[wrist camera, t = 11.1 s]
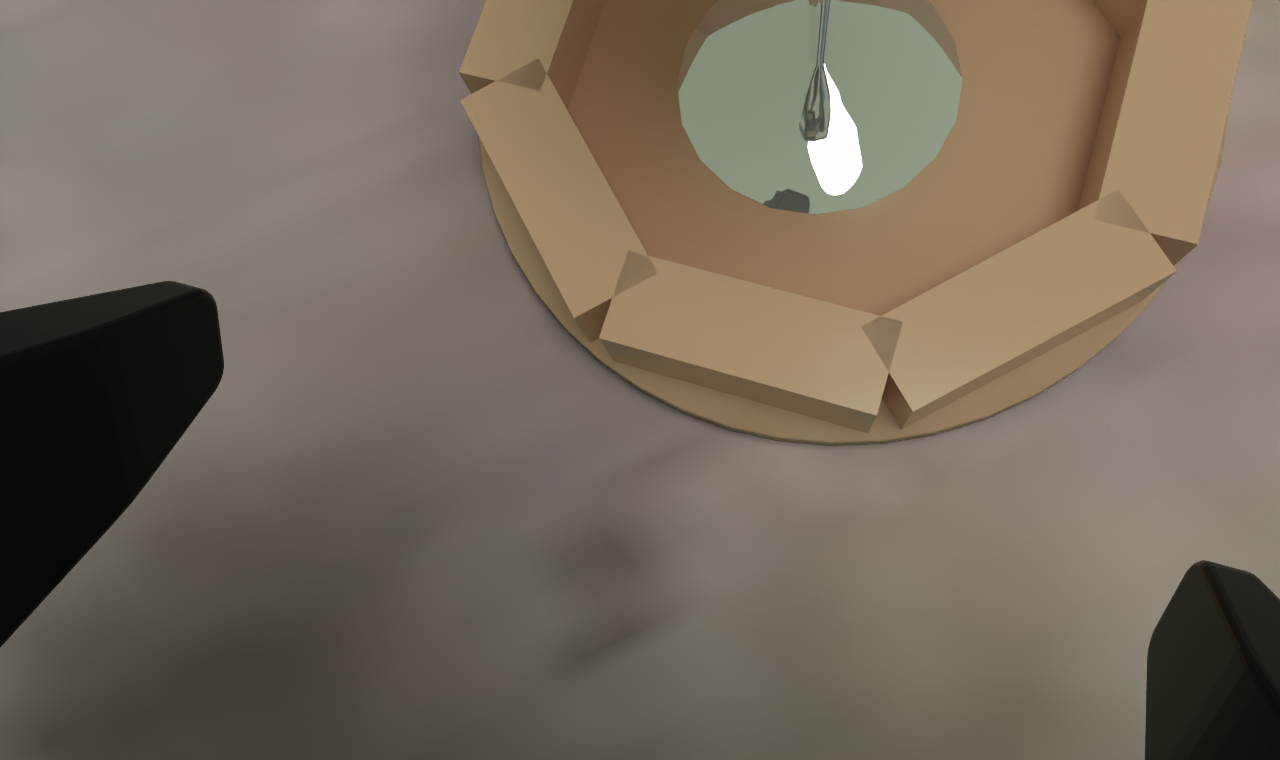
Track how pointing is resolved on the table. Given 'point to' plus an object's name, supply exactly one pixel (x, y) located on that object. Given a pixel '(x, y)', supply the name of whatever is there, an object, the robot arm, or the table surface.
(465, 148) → the table surface
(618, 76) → the coaster
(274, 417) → the table surface
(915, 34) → the wineglass
